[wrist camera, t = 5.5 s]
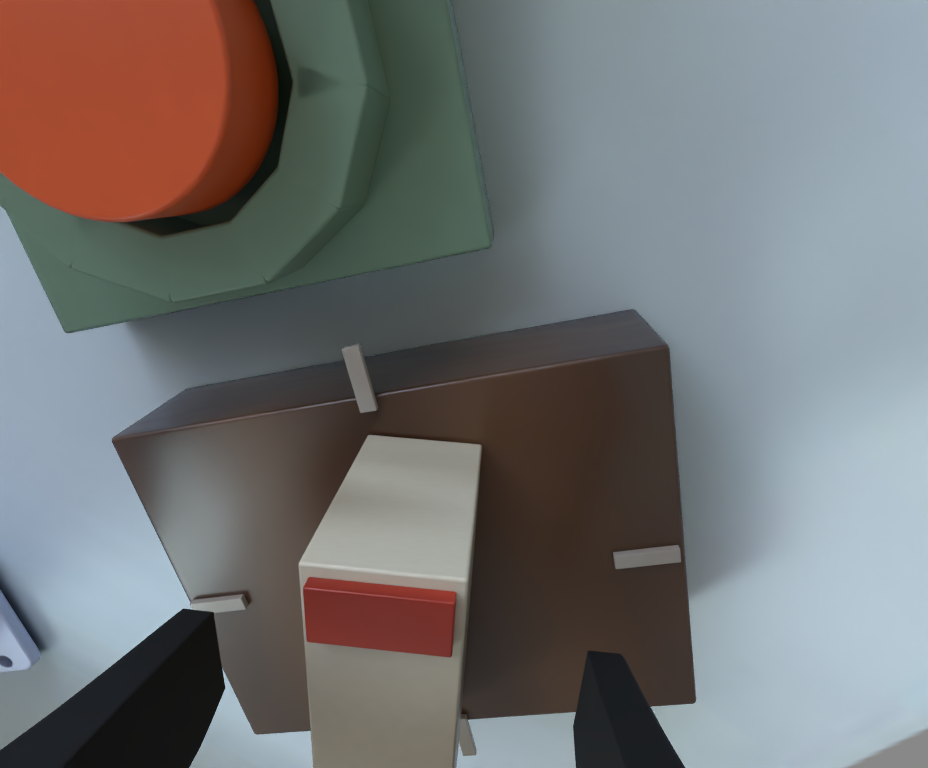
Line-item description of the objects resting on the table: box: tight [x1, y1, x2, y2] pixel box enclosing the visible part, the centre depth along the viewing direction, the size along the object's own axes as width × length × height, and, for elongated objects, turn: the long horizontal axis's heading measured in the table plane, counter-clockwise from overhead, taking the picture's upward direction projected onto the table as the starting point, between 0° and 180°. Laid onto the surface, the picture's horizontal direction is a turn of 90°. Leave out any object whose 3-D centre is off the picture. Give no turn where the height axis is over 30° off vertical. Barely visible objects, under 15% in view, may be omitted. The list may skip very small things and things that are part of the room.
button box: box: [0, 0, 494, 333], centre depth 10 cm, size 10×8×4 cm
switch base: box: [112, 309, 696, 756], centre depth 14 cm, size 12×12×3 cm
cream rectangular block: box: [299, 435, 482, 768], centre depth 10 cm, size 8×2×4 cm, turn 177°
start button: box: [0, 0, 278, 222], centre depth 8 cm, size 4×4×2 cm
